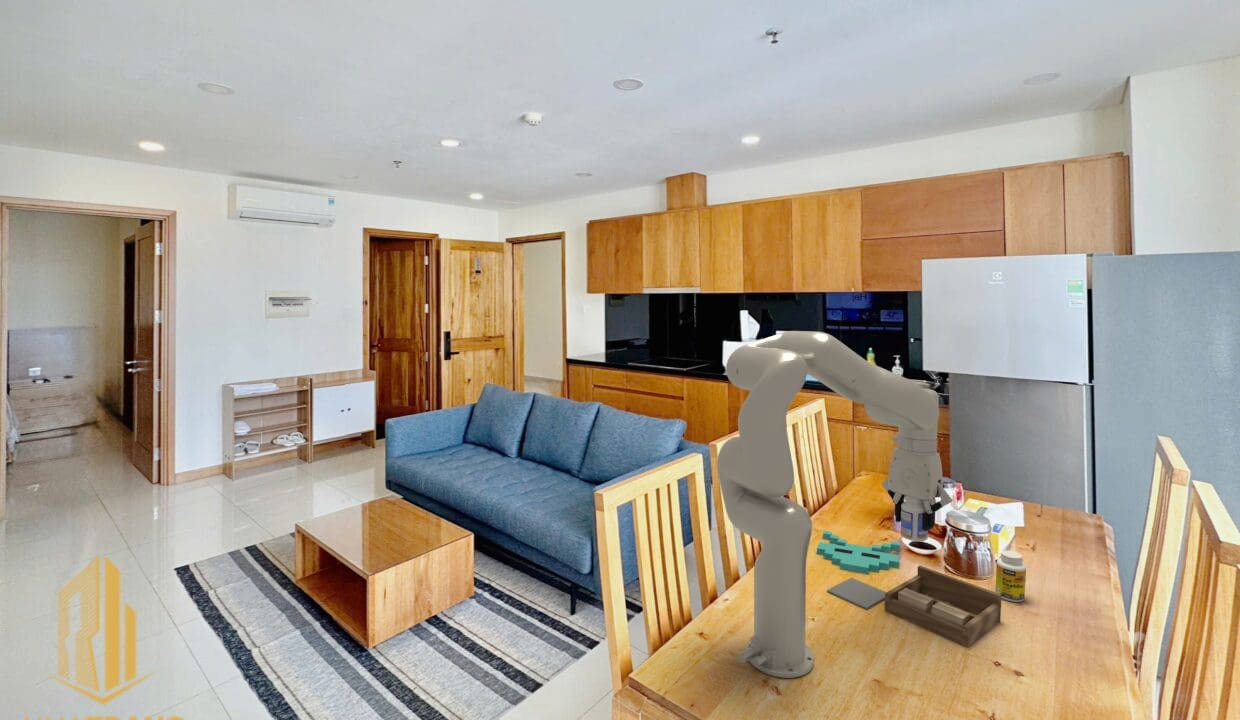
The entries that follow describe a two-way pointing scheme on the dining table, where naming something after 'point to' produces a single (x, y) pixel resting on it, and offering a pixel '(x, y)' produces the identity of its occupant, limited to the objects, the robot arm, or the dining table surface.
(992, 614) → the walnut rack
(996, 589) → the supplement bottle
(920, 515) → the pill bottle
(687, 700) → the dining table surface
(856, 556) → the alien figure
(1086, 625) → the dining table surface
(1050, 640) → the dining table surface
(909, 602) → the offcut
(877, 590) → the rubber coaster
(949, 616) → the offcut
